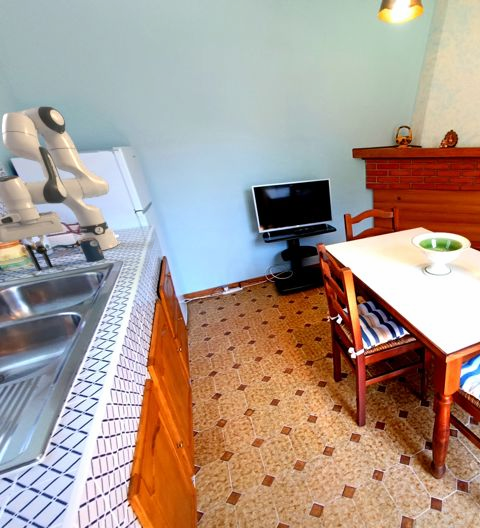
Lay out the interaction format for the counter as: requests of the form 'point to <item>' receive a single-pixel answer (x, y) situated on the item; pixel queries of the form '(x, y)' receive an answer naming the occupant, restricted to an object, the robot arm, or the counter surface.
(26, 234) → the robot arm
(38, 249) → the lever
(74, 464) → the counter surface
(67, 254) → the counter surface
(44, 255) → the bracket
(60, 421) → the counter surface
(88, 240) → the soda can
